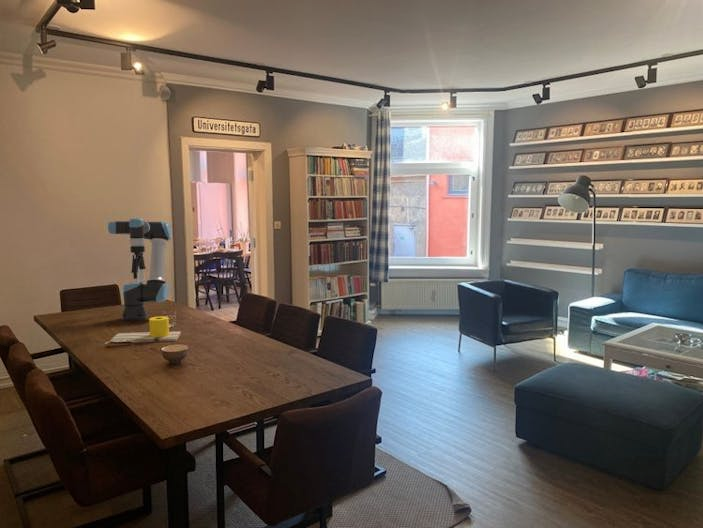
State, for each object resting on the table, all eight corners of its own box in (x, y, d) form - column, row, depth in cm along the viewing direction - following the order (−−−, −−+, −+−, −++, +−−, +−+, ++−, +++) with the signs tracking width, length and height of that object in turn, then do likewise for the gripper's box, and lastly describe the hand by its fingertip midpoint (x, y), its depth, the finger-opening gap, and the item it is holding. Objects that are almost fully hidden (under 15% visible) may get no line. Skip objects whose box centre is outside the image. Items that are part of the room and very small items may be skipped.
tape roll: (162, 337, 284) (162, 320, 283) (146, 336, 286) (145, 319, 285) (172, 333, 294) (172, 316, 293) (156, 332, 296) (155, 315, 295)
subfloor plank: (118, 335, 295) (118, 332, 295) (180, 333, 300) (180, 330, 300) (109, 343, 279) (109, 340, 279) (175, 341, 284) (175, 338, 284)
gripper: (136, 243, 312) (137, 278, 314) (124, 247, 287) (126, 285, 290) (149, 243, 313) (150, 278, 315) (138, 247, 288) (140, 285, 291)
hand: (139, 282), depth 303 cm, fingers open, 13 cm apart
